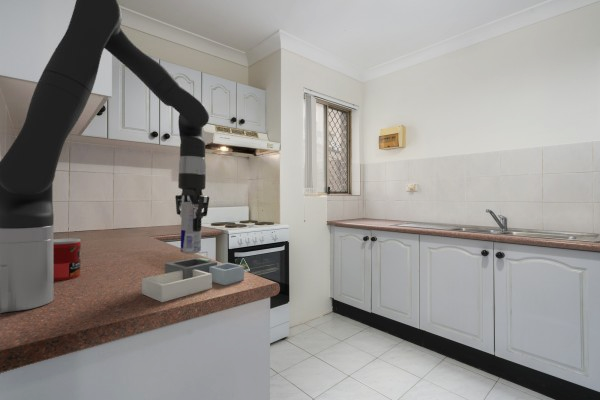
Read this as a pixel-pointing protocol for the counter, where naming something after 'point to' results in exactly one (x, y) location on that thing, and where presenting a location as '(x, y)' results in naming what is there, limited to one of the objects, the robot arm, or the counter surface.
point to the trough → (175, 285)
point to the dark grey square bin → (189, 266)
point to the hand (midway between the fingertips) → (190, 230)
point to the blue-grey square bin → (227, 273)
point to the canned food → (66, 258)
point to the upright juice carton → (189, 231)
